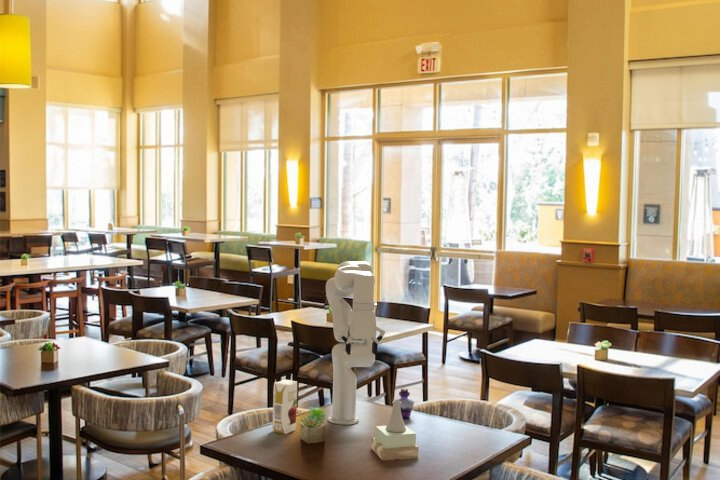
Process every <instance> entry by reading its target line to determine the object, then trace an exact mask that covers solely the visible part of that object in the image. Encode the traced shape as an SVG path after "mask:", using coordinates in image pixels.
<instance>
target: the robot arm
mask: <svg viewBox="0 0 720 480" xmlns="http://www.w3.org/2000/svg"><path fill="white" fill-rule="evenodd" d="M373 272H374V270H373V267H372V265H371V264H370V263H369V262H367V261H356V260H355V261H353V260H352V261H351V260H346V261H342V262H341V263H339V264H338V265H337V268H336V271H335V273H334V276H333V277H331V278H329V279H328V280H327V281H326V283H325V293H326V299H327V302H328V305H329V307H330V310H331V313H332V328H333V336H334V339H335V341H337V342H339V343H337V344H335V345H334V346H333V347H332V349H331V359H332V372H333V373H332V375H333V377H332V378H333V380H332V381H333V382H332V401H331V404H332V405H331V415H329V416H328V417H327V420H328V423H332V424H335V425H342V426H343V425H346V426H348V425H354V424H357V423H359V422H360V418H359V416H357V415H356V412H357V411H356V407H357V406H356V405H357V403H356V402H357V376H356V374H355V372H354V371H353V370H352V368H362V367H363V368H366V367H368V368H369V367H372V366H373V365H374V363H375V361H376V355H377V352H378V346H379V343H380V341H381V340H383V338H384V337H385V334H386V331H385V330H384V329H382V328H380V327H378V326H377V317H376V311H375V310H374V309H375V308H376V309H377V308H378V304H377V303H375V302H374V298H375V297H374V295H375V285H376V284H375V283H376V279H375V275H374V273H373ZM344 298H352V307H351V305H350V304H349V303H348V302H347V301H346V300H345V299H344ZM377 332H379V334H378V336H377Z"/></svg>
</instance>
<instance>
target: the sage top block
mask: <svg viewBox="0 0 720 480" xmlns="http://www.w3.org/2000/svg"><path fill="white" fill-rule="evenodd" d="M386 426H387V425H375V432H374V434H375V435H374V437H375V439H376V440H377V441H378V442H379V443H380V444H382V445H383V446H384V447H385V448H399V447H412V446H416V445H417V444H416V442H417V441H416V440H417V433H416V432H415V431H414V430H412V429H411V428H410V427H408V426H407V425H405V428H406V430H405V431H404V432H390V431H387V430H386Z"/></svg>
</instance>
